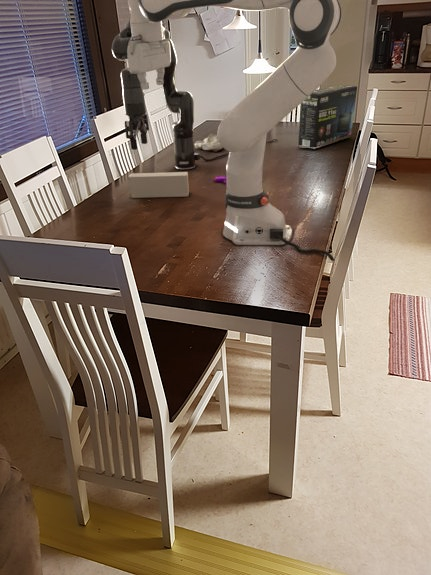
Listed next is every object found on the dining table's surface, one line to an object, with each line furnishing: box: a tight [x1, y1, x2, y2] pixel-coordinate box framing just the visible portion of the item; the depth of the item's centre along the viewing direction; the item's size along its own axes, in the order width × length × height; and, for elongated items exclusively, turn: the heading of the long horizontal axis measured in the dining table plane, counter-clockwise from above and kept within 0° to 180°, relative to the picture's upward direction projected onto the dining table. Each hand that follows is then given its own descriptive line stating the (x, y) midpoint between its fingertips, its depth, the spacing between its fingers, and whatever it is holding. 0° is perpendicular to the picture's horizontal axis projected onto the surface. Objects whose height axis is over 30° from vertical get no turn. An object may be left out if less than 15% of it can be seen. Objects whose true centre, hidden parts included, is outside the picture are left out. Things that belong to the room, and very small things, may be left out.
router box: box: [297, 84, 358, 151], centre depth 238 cm, size 36×11×27 cm, turn 134°
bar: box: [128, 171, 190, 199], centre depth 182 cm, size 23×4×8 cm, turn 89°
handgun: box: [214, 176, 226, 184], centre depth 189 cm, size 21×8×2 cm, turn 11°
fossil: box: [194, 133, 224, 153], centre depth 243 cm, size 18×11×15 cm
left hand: (139, 146), depth 172 cm, fingers open, 8 cm apart
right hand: (153, 86), depth 138 cm, fingers open, 8 cm apart
